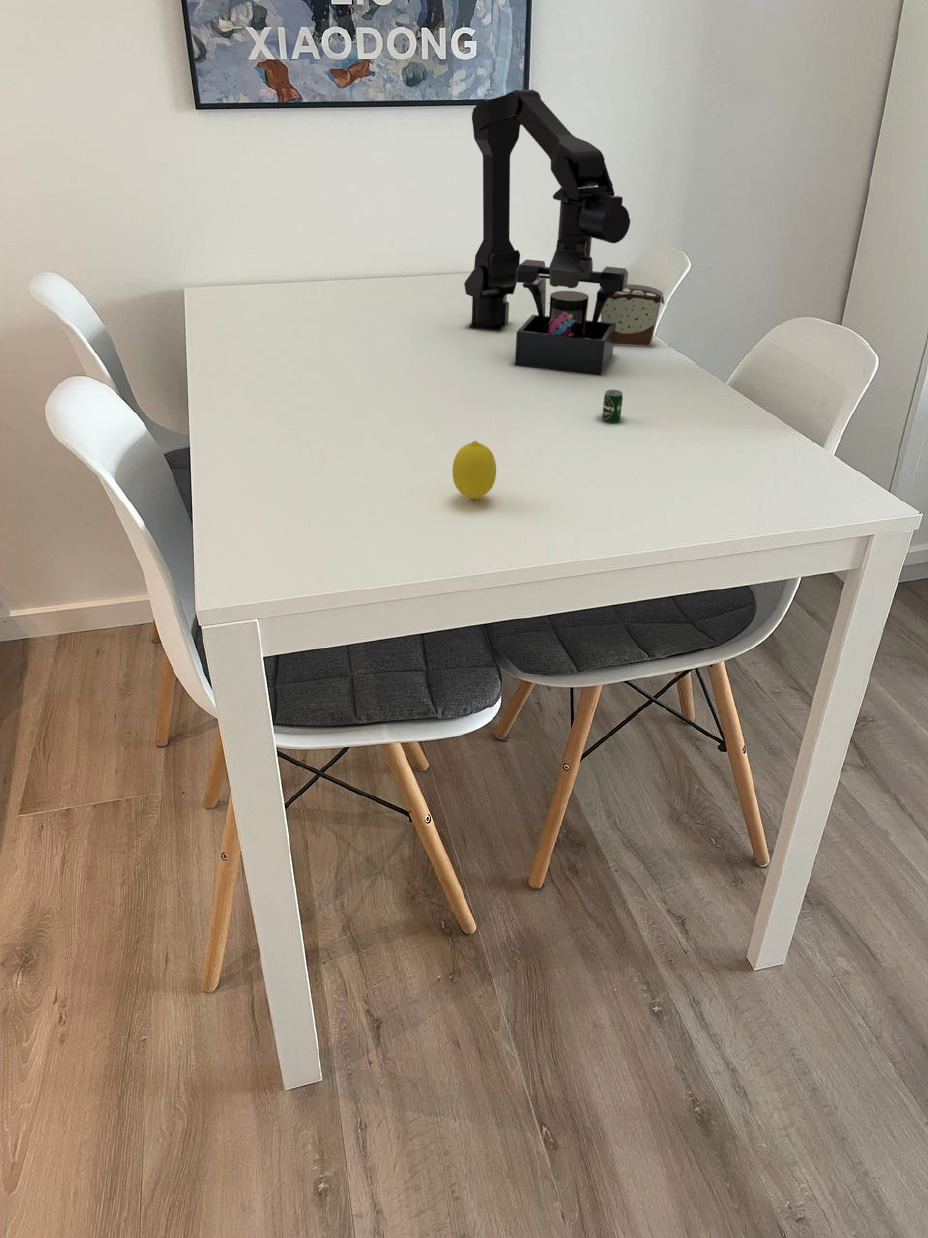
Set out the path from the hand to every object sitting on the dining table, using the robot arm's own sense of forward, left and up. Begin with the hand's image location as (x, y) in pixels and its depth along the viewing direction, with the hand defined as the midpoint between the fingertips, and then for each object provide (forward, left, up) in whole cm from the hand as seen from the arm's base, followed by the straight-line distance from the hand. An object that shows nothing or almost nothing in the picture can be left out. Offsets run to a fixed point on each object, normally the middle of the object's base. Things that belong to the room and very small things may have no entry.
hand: (567, 325), depth 162 cm
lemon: (+1, -60, -6) cm, 60 cm away
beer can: (+13, -26, -6) cm, 30 cm away
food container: (+8, +16, -6) cm, 19 cm away
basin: (0, 0, -6) cm, 6 cm away
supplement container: (0, 0, -6) cm, 6 cm away
